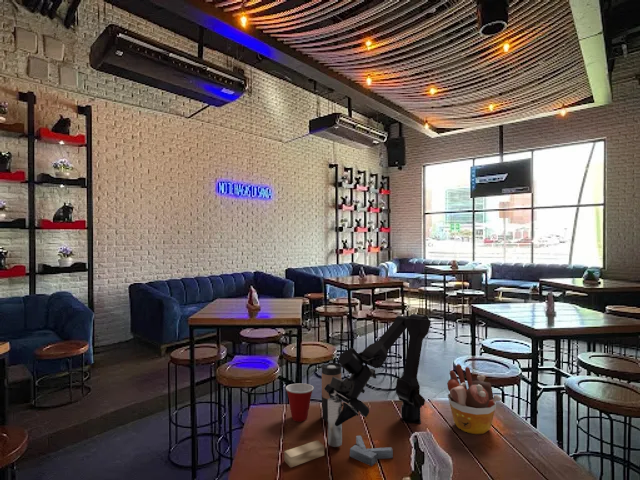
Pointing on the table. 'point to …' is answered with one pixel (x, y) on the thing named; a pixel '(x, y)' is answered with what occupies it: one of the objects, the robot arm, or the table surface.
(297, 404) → the plastic cup
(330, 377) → the travel mug
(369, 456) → the grey flat branched piece
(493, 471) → the table surface
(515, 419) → the table surface
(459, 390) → the bucket of meat
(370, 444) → the table surface
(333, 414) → the grey metallic cylinder
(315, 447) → the beam
